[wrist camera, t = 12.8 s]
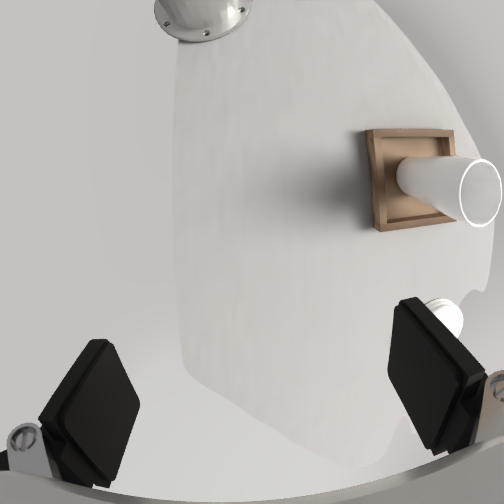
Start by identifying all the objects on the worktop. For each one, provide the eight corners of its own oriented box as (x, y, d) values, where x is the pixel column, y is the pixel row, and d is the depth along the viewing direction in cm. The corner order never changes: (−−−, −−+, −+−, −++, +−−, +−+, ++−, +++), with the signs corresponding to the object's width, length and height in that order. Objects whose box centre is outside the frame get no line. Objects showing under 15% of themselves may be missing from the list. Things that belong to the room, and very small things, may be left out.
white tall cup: (381, 163, 36) (449, 174, 21) (419, 143, 35) (493, 147, 20) (400, 208, 38) (467, 240, 23) (436, 187, 37) (508, 210, 22)
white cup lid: (417, 355, 47) (425, 367, 44) (400, 321, 44) (409, 333, 41) (458, 323, 45) (468, 333, 42) (446, 285, 43) (457, 294, 39)
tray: (365, 130, 35) (372, 129, 33) (443, 130, 34) (453, 130, 32) (373, 227, 39) (380, 232, 37) (447, 217, 39) (456, 221, 36)
